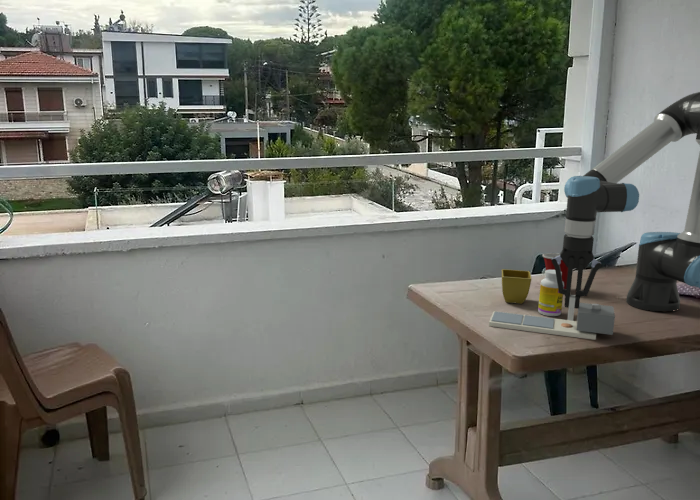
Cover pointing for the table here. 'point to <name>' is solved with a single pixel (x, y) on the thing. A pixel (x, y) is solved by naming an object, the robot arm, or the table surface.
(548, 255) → the plastic cup
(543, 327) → the board
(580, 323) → the cover
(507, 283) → the flower pot
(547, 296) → the supplement bottle
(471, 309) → the table surface
